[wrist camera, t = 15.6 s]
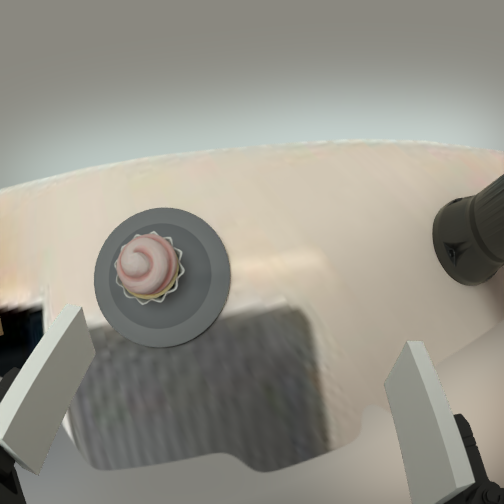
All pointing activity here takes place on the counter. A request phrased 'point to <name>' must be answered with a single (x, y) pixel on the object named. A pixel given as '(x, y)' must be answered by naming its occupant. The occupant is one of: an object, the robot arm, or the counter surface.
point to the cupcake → (149, 267)
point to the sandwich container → (0, 331)
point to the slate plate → (189, 284)
